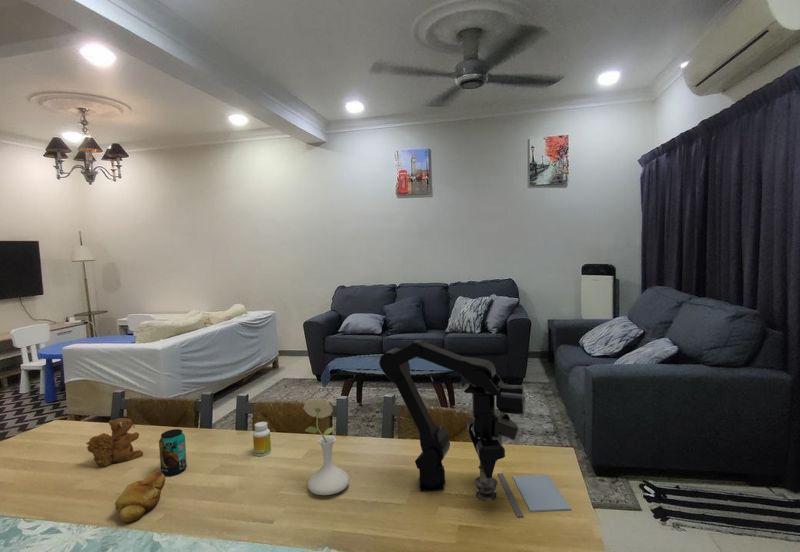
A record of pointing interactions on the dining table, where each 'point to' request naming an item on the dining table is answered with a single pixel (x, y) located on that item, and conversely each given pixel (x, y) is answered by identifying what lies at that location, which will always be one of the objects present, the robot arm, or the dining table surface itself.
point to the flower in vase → (325, 454)
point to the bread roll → (140, 497)
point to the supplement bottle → (261, 439)
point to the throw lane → (535, 494)
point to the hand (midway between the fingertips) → (485, 468)
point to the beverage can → (172, 452)
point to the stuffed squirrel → (114, 444)
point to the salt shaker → (485, 486)
